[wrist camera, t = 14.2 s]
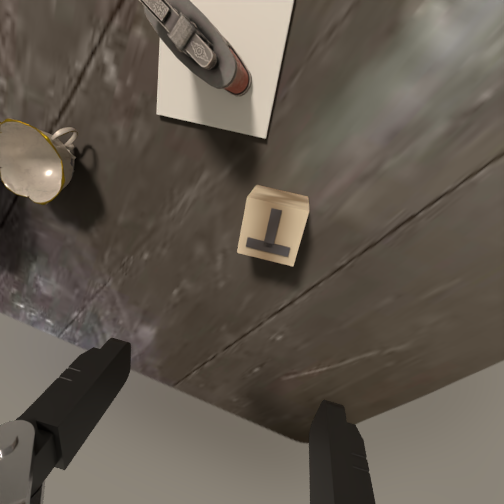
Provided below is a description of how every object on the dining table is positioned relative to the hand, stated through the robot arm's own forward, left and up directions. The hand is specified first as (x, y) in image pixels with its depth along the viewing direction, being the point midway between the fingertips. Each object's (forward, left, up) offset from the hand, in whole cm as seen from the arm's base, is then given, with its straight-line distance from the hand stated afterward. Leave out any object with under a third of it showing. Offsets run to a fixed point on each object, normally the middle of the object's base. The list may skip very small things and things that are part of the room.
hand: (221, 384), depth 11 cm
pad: (+9, -14, -24) cm, 29 cm away
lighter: (+9, -14, -24) cm, 29 cm away
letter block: (0, 0, -24) cm, 24 cm away
